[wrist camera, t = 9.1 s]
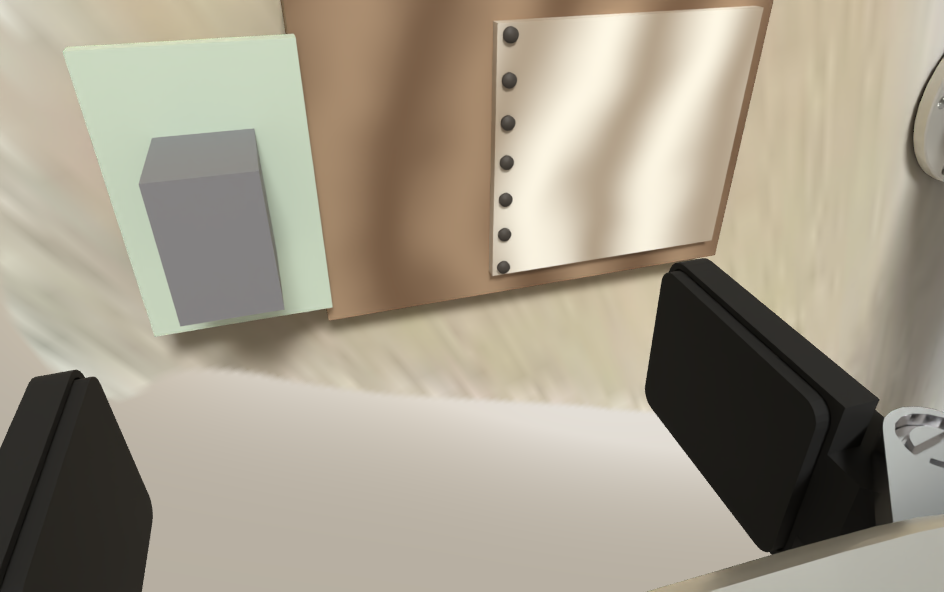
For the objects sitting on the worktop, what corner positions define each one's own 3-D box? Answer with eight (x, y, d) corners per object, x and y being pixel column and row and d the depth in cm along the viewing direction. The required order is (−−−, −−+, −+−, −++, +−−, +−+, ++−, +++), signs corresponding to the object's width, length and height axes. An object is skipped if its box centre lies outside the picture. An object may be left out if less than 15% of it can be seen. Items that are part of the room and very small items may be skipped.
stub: (293, 33, 27) (307, 66, 22) (330, 299, 34) (347, 366, 29) (66, 46, 25) (29, 86, 20) (156, 327, 32) (144, 404, 27)
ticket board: (753, -33, 34) (791, -27, 32) (696, 240, 42) (722, 261, 40) (278, -14, 28) (283, -5, 26) (324, 301, 36) (330, 328, 34)
